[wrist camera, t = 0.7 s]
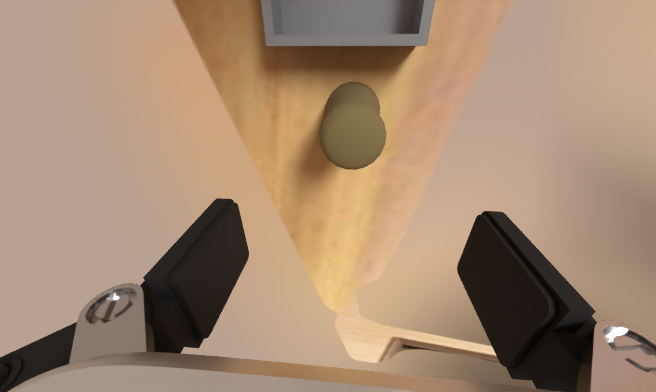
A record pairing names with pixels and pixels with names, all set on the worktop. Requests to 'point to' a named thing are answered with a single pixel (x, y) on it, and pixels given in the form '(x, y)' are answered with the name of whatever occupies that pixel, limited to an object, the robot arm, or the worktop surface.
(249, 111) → the worktop surface
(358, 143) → the cork
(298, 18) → the box
